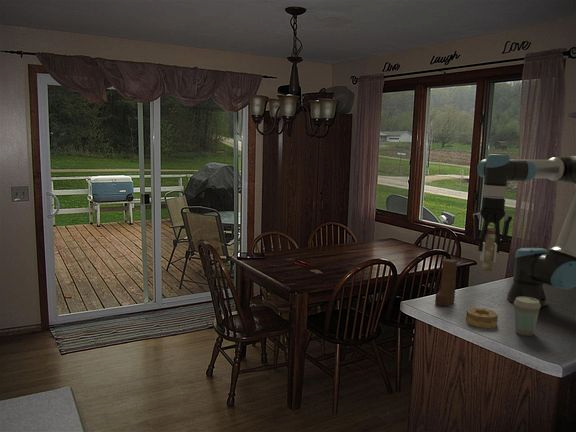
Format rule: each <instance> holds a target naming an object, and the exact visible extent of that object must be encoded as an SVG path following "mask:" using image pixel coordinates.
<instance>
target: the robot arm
mask: <svg viewBox="0 0 576 432" xmlns="http://www.w3.org/2000/svg"><path fill="white" fill-rule="evenodd" d="M486 157H487V158H484V159H482V160H480V161H479V162H478V164H477V166H476V171H477V172H476V173H477V175H478V176H479V177H481V178H484V180H483V181H484V182H483V192H482V194H483V197H482V201H481V202H482V203H481V208H480V210H479V212H476V213H473V214H472V218H473V240H474V241H476V242H478V245H477V246H478V247H477V250H478V251H479V252H480V257H479V260H480V261H481V262H483V261H484V254H485V235H486V232H487V228H488V227H489V225H490V223H491V224H492V223H493V225H494V227H495V228H496V234H495V244H494V254H493V263H496V260H497V253H498V254H499V253H500V249H501V244H504V243H505V244H506V242H507V240H508V239H507V238H508V232H509V228H510V223H511V221H512V220H513V216H511V215H509V214H506V212H505V205H506V199H505V197H506V196H507V186H508V182H523V183H524V182H530V181H533V180H534V179H548V180H550V181H552V182H554V181H555V182H562V183H563V182H564V183H569V184H573V186H574V188H575V189H576V155H568V156H560V157H556V156H555V157H554V156H553V157H551V158H548V159H512V158H511V159H510V155H509V154H501V153H500V154H499V153H497V154H496V153H495V154H494V153H490V154H488V155H487V156H486ZM481 217H482V220H483V224H482V228H481V230H480V218H481ZM502 219H503V220H504V221H503V227H502V232H501V231H500V229H501V228H500V222H501V220H502ZM479 231H480V233H479ZM513 264H514V265H513V279H512V283H511V286H510V287H509V290H508V291H507V295H506V296H507V297H506V299H507V301H508V302H510V303H512V304H514V301H515V299H516V298H517V297H531V298H534V299H537V300H539V302H540V305H541V308H542V307H546V306H547V304H548V298H547V294H546V291H545V285H549V286H551V287H554V288H556V289H561V290H571V289H573V288H575V287H576V192H575V193H574V196H573V199H572V201H571V204H570V206H569V209H568V212H567V214H566V217H565V219H564V222H563V224H562V227H561V229H560V232H559V236H558V237H557V240H556V243H555V245H554V246H553V247H550V248H549V249H548V250H547V249H546V248H540V247H521V248H518V249H516V251H515V256H514V262H513ZM544 284H545V285H544Z"/></svg>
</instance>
